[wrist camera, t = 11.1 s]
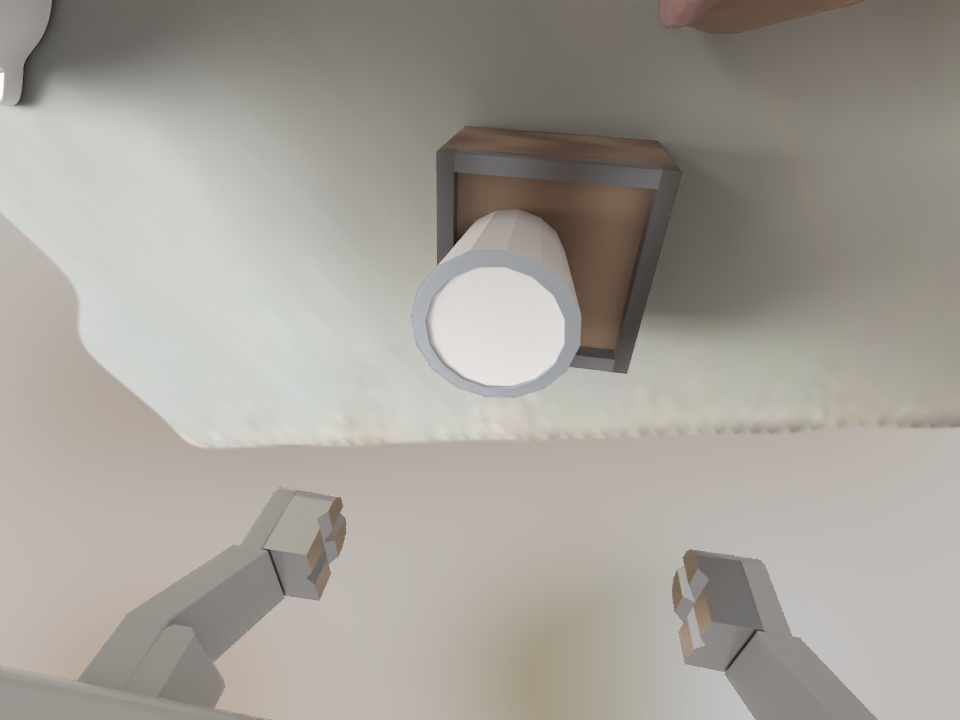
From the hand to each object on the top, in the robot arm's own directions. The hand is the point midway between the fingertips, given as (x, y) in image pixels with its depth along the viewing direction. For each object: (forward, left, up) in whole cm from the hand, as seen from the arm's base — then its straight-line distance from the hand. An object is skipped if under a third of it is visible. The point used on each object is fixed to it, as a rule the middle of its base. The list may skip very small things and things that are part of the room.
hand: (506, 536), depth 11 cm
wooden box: (0, 0, -22) cm, 22 cm away
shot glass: (-2, 0, -16) cm, 16 cm away
